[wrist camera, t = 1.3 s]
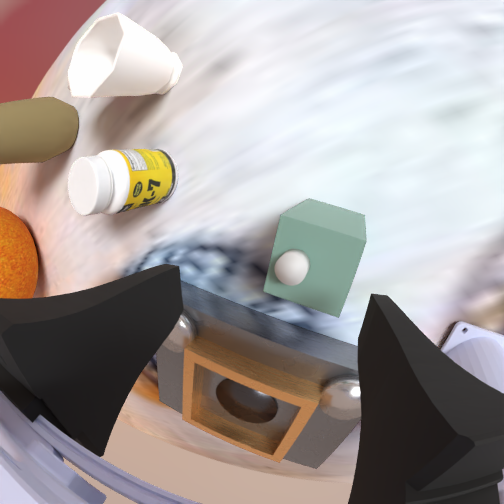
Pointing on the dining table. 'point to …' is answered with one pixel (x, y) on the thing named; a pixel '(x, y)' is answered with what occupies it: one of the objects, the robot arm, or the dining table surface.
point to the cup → (121, 61)
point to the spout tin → (316, 255)
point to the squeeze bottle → (36, 129)
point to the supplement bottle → (121, 180)
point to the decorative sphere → (16, 258)
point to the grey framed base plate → (259, 380)
